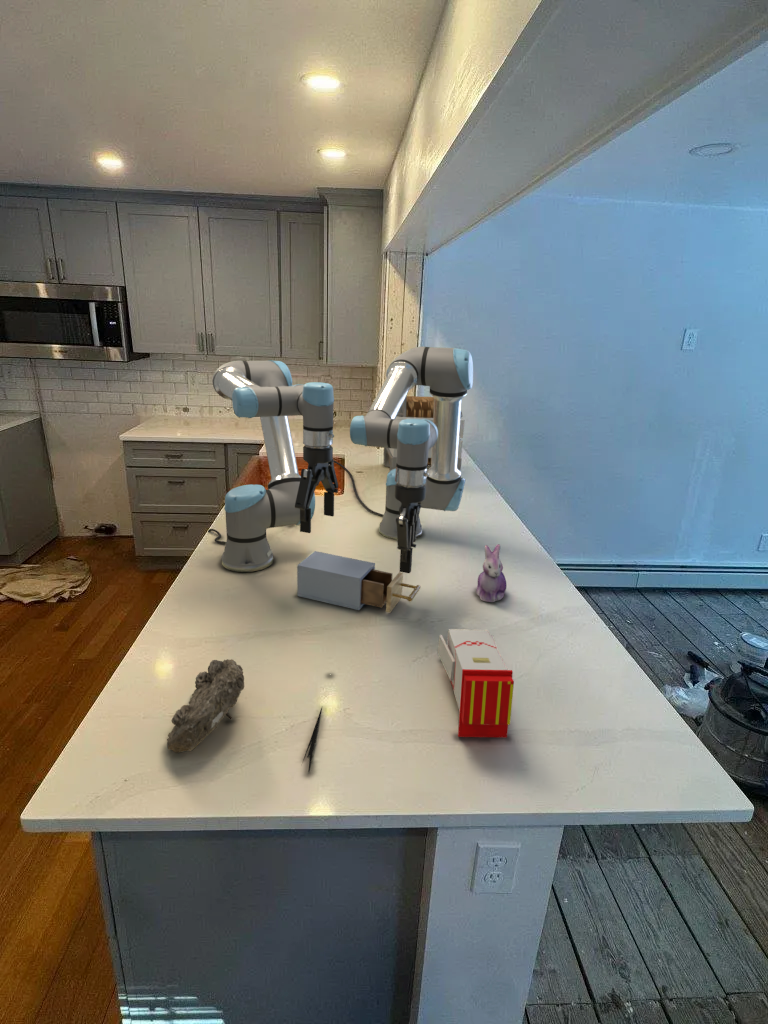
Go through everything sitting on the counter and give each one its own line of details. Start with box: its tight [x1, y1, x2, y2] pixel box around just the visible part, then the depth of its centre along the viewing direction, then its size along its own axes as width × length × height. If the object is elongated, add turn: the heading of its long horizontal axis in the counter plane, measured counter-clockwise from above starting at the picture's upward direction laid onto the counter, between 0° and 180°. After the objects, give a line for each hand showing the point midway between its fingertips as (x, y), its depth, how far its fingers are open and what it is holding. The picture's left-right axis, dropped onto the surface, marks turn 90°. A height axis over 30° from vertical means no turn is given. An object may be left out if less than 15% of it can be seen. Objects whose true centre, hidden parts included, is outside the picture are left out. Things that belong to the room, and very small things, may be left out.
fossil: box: [166, 658, 245, 754], centre depth 106 cm, size 22×10×15 cm
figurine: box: [476, 544, 507, 603], centre depth 157 cm, size 9×10×15 cm
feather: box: [301, 673, 332, 771], centre depth 108 cm, size 2×28×2 cm
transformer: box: [383, 395, 465, 473], centre depth 268 cm, size 34×33×41 cm
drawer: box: [361, 569, 421, 614], centre depth 151 cm, size 22×9×7 cm, turn 69°
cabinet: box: [296, 550, 376, 611], centre depth 154 cm, size 18×10×9 cm, turn 69°
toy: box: [437, 628, 515, 738], centre depth 117 cm, size 12×13×30 cm
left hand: (317, 523), depth 151 cm, fingers open, 13 cm apart
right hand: (405, 571), depth 146 cm, fingers closed
